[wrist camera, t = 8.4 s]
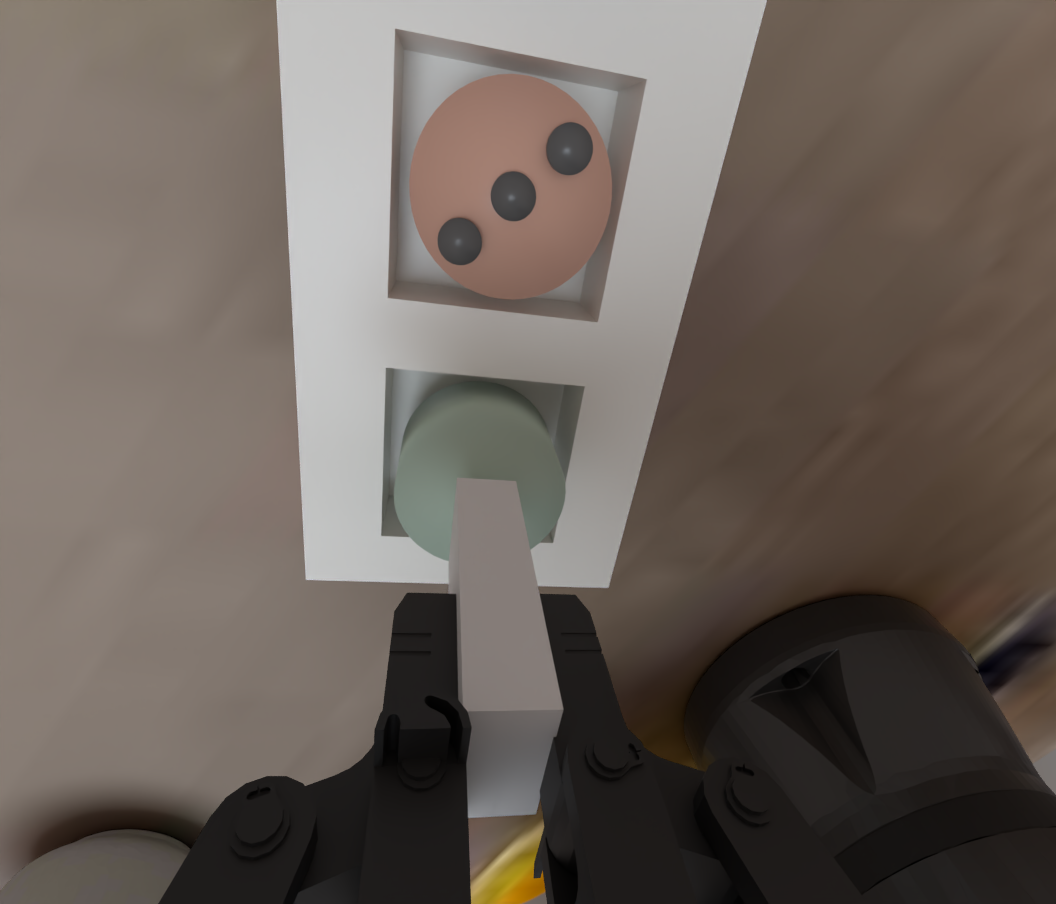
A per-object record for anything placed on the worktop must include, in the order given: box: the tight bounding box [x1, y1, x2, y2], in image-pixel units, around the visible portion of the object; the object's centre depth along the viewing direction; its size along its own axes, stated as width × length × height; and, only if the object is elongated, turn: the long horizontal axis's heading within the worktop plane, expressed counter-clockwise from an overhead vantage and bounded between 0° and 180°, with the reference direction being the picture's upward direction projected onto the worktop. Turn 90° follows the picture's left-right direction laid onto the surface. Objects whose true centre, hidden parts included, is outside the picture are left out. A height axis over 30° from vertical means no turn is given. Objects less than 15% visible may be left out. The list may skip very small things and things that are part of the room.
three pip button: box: [409, 74, 612, 300], centre depth 15 cm, size 5×5×3 cm
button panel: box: [276, 0, 767, 588], centre depth 15 cm, size 11×26×3 cm, turn 171°
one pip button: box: [394, 381, 566, 561], centre depth 17 cm, size 5×5×3 cm
